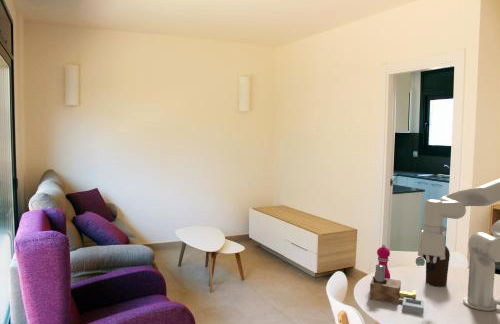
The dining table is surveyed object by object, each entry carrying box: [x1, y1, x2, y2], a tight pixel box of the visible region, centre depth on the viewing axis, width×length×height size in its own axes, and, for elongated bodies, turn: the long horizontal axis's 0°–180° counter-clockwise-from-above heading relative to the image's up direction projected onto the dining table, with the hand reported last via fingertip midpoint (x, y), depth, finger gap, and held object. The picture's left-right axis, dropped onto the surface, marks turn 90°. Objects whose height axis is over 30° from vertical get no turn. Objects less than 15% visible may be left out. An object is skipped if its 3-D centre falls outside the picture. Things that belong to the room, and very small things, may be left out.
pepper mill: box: [374, 243, 391, 279], centre depth 196 cm, size 7×7×20 cm
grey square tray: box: [401, 297, 425, 315], centre depth 170 cm, size 8×8×3 cm
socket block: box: [369, 275, 402, 305], centre depth 181 cm, size 12×10×7 cm
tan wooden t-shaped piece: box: [399, 290, 417, 299], centre depth 178 cm, size 7×4×4 cm, turn 65°
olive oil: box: [425, 245, 451, 288], centre depth 198 cm, size 11×11×25 cm
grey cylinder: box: [374, 264, 385, 284], centre depth 182 cm, size 4×4×14 cm
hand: (430, 270), depth 173 cm, fingers closed
